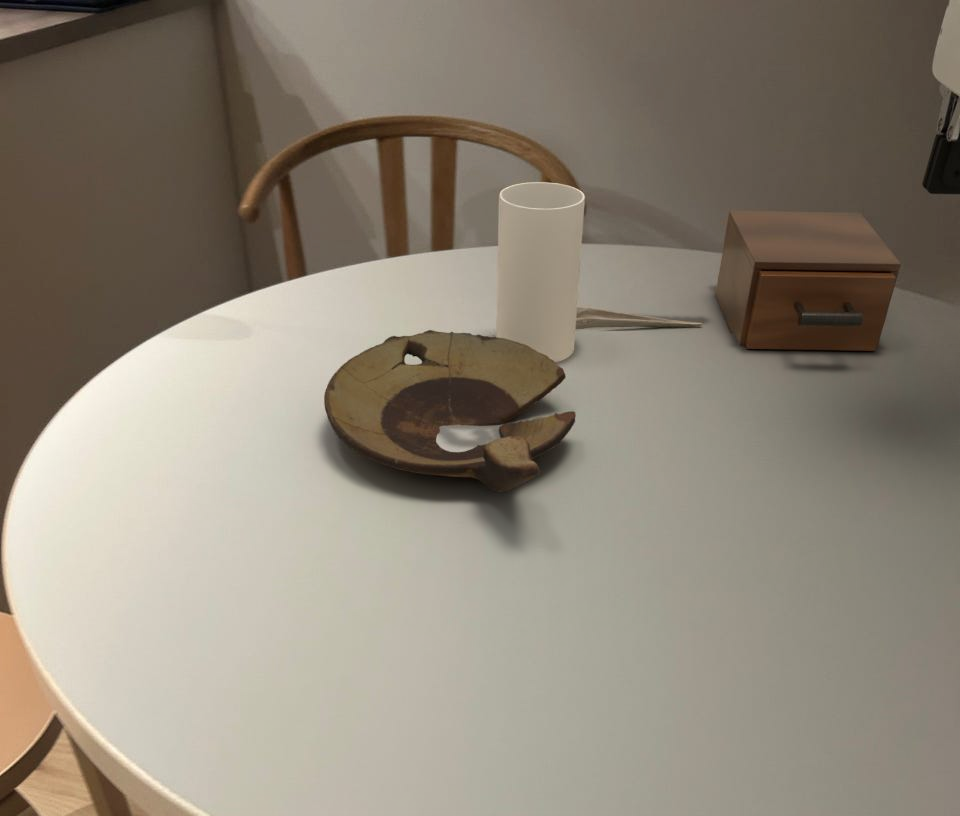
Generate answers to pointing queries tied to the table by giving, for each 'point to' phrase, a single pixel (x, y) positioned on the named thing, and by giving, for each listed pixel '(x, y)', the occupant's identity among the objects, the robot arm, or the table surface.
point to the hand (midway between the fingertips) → (943, 190)
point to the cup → (539, 266)
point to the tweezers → (622, 319)
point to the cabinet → (792, 254)
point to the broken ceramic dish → (447, 405)
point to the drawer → (819, 309)
